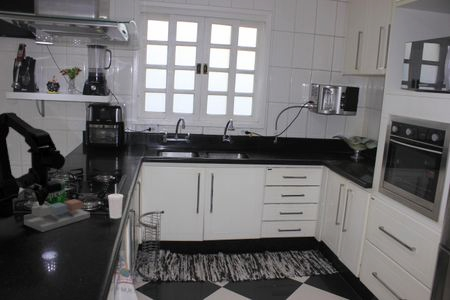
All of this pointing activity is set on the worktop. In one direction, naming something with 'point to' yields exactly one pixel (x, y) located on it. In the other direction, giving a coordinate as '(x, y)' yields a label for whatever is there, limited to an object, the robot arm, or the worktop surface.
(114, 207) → the beverage cup
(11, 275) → the worktop surface
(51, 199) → the soda can
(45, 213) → the grey block
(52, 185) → the robot arm
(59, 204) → the light blue block
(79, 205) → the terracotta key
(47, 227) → the panel
